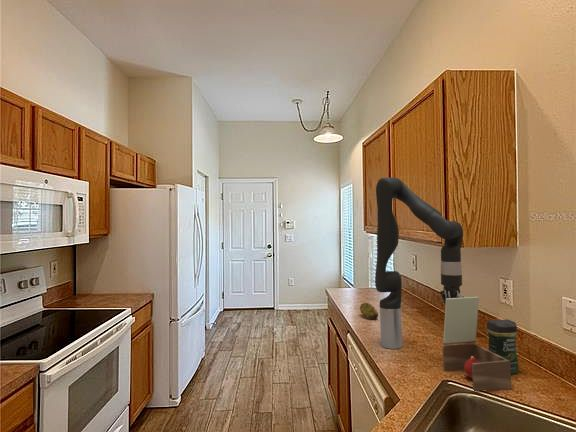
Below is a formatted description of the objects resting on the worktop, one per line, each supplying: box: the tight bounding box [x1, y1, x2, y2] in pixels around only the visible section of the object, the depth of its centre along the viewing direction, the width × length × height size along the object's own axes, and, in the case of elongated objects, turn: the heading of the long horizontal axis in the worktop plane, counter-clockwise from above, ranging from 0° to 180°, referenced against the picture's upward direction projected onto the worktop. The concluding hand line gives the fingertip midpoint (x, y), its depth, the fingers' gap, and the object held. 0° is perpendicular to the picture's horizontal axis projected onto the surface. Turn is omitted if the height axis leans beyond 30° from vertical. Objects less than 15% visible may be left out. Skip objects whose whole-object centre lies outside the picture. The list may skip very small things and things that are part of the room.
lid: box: [442, 296, 480, 346], centre depth 134 cm, size 18×13×1 cm
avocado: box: [359, 302, 379, 320], centre depth 209 cm, size 8×13×8 cm, turn 4°
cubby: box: [442, 342, 512, 392], centre depth 126 cm, size 18×13×9 cm
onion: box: [464, 356, 480, 380], centre depth 126 cm, size 6×6×8 cm
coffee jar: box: [486, 318, 520, 375], centre depth 132 cm, size 10×8×19 cm
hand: (452, 317), depth 139 cm, fingers closed
